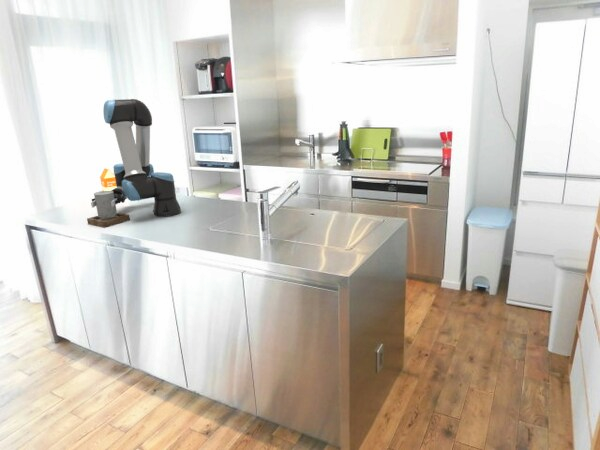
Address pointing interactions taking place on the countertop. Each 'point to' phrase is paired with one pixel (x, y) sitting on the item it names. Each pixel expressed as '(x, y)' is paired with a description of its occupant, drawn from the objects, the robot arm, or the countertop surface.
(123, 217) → the walnut seat tray
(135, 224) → the countertop surface
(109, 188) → the orange juice
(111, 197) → the speckled white cylinder
